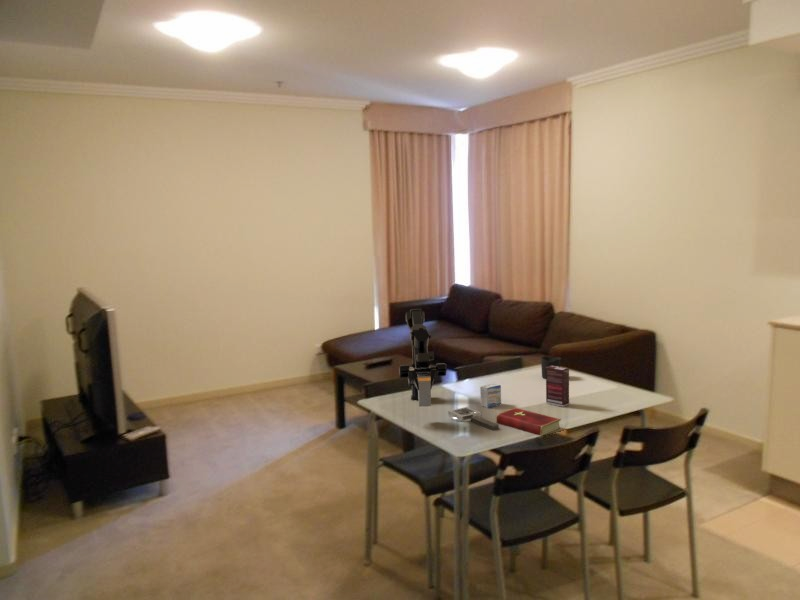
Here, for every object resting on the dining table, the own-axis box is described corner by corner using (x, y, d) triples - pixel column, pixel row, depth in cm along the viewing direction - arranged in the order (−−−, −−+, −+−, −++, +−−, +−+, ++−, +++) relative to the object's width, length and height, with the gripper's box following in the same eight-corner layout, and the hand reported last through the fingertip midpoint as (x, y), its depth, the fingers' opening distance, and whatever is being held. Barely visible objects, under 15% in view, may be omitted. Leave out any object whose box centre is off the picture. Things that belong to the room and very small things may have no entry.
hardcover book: (541, 437, 219) (541, 426, 218) (496, 424, 234) (496, 413, 234) (560, 429, 226) (560, 418, 226) (515, 417, 242) (515, 406, 242)
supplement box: (569, 404, 255) (569, 367, 253) (563, 407, 251) (563, 370, 249) (551, 401, 261) (551, 364, 259) (545, 403, 257) (545, 367, 255)
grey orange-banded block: (418, 403, 240) (417, 373, 239) (430, 402, 241) (429, 373, 239) (419, 406, 236) (418, 376, 234) (431, 406, 236) (430, 376, 234)
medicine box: (487, 408, 253) (487, 388, 252) (480, 405, 257) (480, 386, 256) (501, 404, 258) (501, 384, 257) (494, 402, 261) (494, 382, 260)
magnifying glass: (443, 415, 245) (443, 410, 245) (467, 410, 251) (467, 405, 251) (483, 432, 224) (482, 427, 224) (507, 426, 230) (507, 421, 230)
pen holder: (550, 381, 293) (550, 361, 292) (537, 377, 301) (537, 357, 300) (564, 378, 297) (564, 358, 296) (551, 374, 306) (551, 355, 304)
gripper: (398, 345, 239) (401, 379, 229) (445, 343, 240) (450, 377, 230) (398, 360, 247) (400, 394, 238) (443, 358, 248) (447, 392, 239)
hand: (424, 389), depth 236 cm, fingers closed on grey orange-banded block, 5 cm apart
